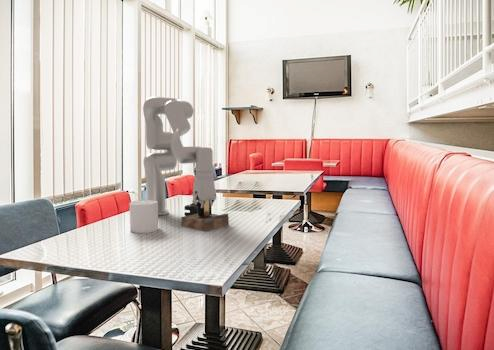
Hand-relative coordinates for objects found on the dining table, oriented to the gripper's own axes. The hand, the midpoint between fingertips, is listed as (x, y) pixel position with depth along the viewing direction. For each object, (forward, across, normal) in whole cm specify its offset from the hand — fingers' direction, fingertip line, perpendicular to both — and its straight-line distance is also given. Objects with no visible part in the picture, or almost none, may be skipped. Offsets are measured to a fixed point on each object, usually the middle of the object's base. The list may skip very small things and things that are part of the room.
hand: (204, 215), depth 172 cm
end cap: (+5, -10, -17) cm, 20 cm away
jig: (+5, 0, 0) cm, 5 cm away
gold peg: (+3, 0, 0) cm, 3 cm away
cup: (+5, +22, -15) cm, 27 cm away
